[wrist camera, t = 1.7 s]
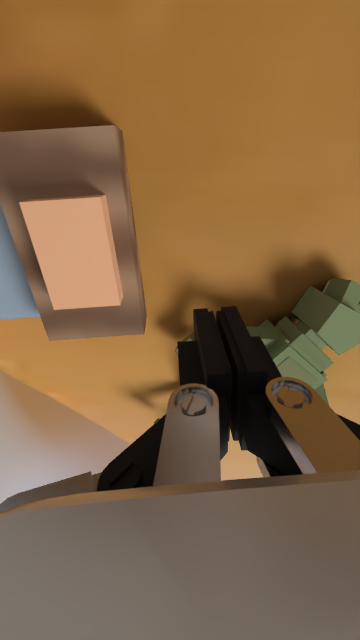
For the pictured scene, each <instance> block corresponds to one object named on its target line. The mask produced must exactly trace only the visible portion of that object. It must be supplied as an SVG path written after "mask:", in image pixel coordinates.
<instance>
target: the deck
mask: <svg viewBox="0 0 360 640" xmlns="http://www.w3.org/2000/svg"><path fill="white" fill-rule="evenodd" d="M91 195H106V200H107V206H108V212H109V218H110V223H111V229H112V235H113V240H114V246H115V252H116V258H117V263H118V269H119V275H120V280H121V286H122V292H123V298H122V301H121V305H118V306H104V307H89V308H75V309H60V310H54V309H53V305H52V302H51V299H50V296H49V293H48V290H47V287H46V284H45V281H44V278H43V275H42V272H41V269H40V265H39V262H38V259H37V256H36V253H35V250H34V247H33V244H32V241H31V238H30V235H29V232H28V228H27V225H26V222H25V219H24V216H23V213H22V210H21V207H20V204H19V202H22V201H26V200H30V199H45V198H60V197H76V196H91ZM0 204H1V207H2V210H3V212H4V215H5V218H6V221H7V224H8V226H9V229H10V232H11V235H12V238H13V240H14V243H15V246H16V249H17V252H18V254H19V257H20V260H21V263H22V266H23V268H24V271H25V274H26V277H27V280H28V282H29V285H30V288H31V291H32V294H33V296H34V299H35V302H36V305H37V308H38V310H39V313H40V316H41V319H42V322H43V324H44V327H45V330H46V333H47V336H48V338H49V341H52V340H66V339H80V338H94V337H109V336H123V335H137V334H144V332H145V325H146V317H147V314H146V307H145V299H144V292H143V284H142V277H141V269H140V262H139V254H138V247H137V239H136V232H135V224H134V217H133V209H132V202H131V194H130V187H129V179H128V172H127V164H126V157H125V149H124V142H123V134H122V131H121V130H120V129H119V128H117V127H116V126H115V125H107V126H91V127H74V128H58V129H42V130H26V131H10V132H0Z"/></svg>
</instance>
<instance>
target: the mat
mask: <svg viewBox="0 0 360 640" xmlns="http://www.w3.org/2000/svg"><path fill="white" fill-rule="evenodd" d="M30 317H41V316H40V313H39V310H38V308H37V305H36V302H35V299H34V296H33V294H32V291H31V288H30V285H29V282H28V280H27V277H26V274H25V271H24V268H23V266H22V263H21V260H20V257H19V254H18V252H17V249H16V246H15V243H14V240H13V238H12V235H11V232H10V229H9V226H8V224H7V221H6V218H5V215H4V212H3V210H2V207H1V204H0V320H1V319H15V318H30Z"/></svg>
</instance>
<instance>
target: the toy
mask: <svg viewBox="0 0 360 640" xmlns="http://www.w3.org/2000/svg"><path fill="white" fill-rule="evenodd" d="M291 312H292V313H293V314H294V315H295V316H296V317H297V318H298V319H299V320H300V321H299V322H298V323H297V324H296V325H294V324H293V323H292V322H291V321H290V320H289V319H288V318H287V317H286V316H285V317H284V318H283V319H281V320H280V321H279V322H278V323H277V325H276V326H274V325H273V324H272V323H271V322H270V321H269V320H268V319H266V320H265V321H264V322H263V323H261V324H260V325H259V326H258V327H257V326H255V327H253V326H246V328H247V330H248V332H249V334H250V336H259V337H260V338H261V339H262V341H263V343H264V345H265V347H266V348H267V350H268V352H269V354H270V356H271V357H272V359H273V361H274V363H275V365H276V366H277V368H278V370H279V372H280V374H281V375H282V377H292V378H296V379H299V380H302V381H304V382H305V383H307V384H309V385H310V386H311V387H312V388H313V389H314V390H315V391H316V392H317V393H318V394H319V395H320V396H321V398H322V399H323V400H324V401H325V402H326V403H327V404H328V400H327V397H326V392H325V389H324V385H323V383H324V382H326V381H327V379H326V378H325V376H326V374H325V373H324V372H323V370H325V369H326V368H328V367H329V366H330V365H331V364H333V362H332V361H331V360H330V359H329V358H328V357H327V356H326V355H325V354H324V353H323V352H322V351H321V349H323V348H324V347H325V346H326V345H328V346H329V347H330V348H331V349H333V350H334V351H335V352H336V353H337V354H338V355H340V354H341V353H344V352H346V351H347V350H349V349H351V348H353V347H355V346H356V345H358V344H360V285H359V284H357V283H355V282H353V281H352V280H343V279H332V278H331V279H330V280H328V282H327V284H326V286H325V288H324V290H323V292H321V291H319V290H318V289H316V288H314V287H312V286H309V288H308V289H307V290H306V292H305V293H304V294H303V296H302V297H301V299H300V300H299V301H298V303H297V304H296V306H295V307H294V309H293V310H292V311H291ZM183 341H194V333H193V332H192V333H191V334H190V335H189V336H188V337H186V338H185V339H184V340H183ZM175 351H176V352H177V353H178V346H177V348H176V350H175ZM328 405H329V404H328ZM159 420H160V419H159V418H158V419H157V420H156V421H155V422H154V424H155V423H156V422H158V421H159Z"/></svg>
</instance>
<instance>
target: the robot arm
mask: <svg viewBox="0 0 360 640" xmlns="http://www.w3.org/2000/svg"><path fill="white" fill-rule="evenodd" d="M178 358H179V373H180V387H179V388H177V389H175V390H174V392H173V393H172V394H171V396H170V398H169V402H168V408H167V413H166V415H164V416H163V417H162V418H161V419H160V420H159V421H158V422H156V423H155V424H154V425H153V426H152V427H151V428H149V429H148V430H147V431H146V432H145V433H144V434H143V435H141V436H140V437H139V438H138V439H137V440H136V441H135V442H133V443H132V444H131V445H130V446H129V447H128V448H127V449H125V450H124V451H123V452H122V453H121V454H120V455H118V456H117V457H116V458H115V459H114V460H113V461H112V462H110V463H109V465H108V466H107V467H106V468H105V469H104V470H103V472H101V473H98V474H94V475H92V474H91V472H87V473H84V474H81V475H78V476H74V477H71V478H67V479H64V480H61V481H58V482H54V483H51V484H47V485H44V486H41V487H38V488H34V489H31V490H28V491H25V492H21V493H18V494H16V495H14V496H12V497H9V498H7V499H6V500H5V501H4V502H3V503H1V504H0V640H360V425H359V424H357V423H355V422H353V421H350V420H348V419H346V418H344V417H342V416H340V415H338V414H336V413H335V412H334V411H333V410H332V409H331V408H330V407H329V405H328V404H327V403H326V402H325V401H324V400H323V399H322V398H321V396H320V395H319V394H318V393H317V392H316V391H315V390H314V389H313V388H312V387H311V386H310V385H309V384H307V383H305V382H304V381H302V380H299V379H296V378H292V377H282V375H281V374H280V372H279V370H278V368H277V366H276V365H275V363H274V361H273V359H272V357H271V356H270V354H269V352H268V350H267V348H266V347H265V345H264V343H263V341H262V339H261V338H260V337H259V336H250V334H249V332H248V330H247V328H246V326H245V324H244V322H243V320H242V318H241V316H240V314H239V312H238V310H237V308H236V306H233V307H222V308H221V311H217V312H216V320H215V317H214V314H213V311H211V312H208V309H207V308H204V309H194V341H181V342H178ZM230 429H231V433H232V437H233V440H234V441H237V440H239V443H240V447H241V450H248V451H250V452H251V453H253V454H254V455H256V456H257V463H258V466H259V468H260V471H261V473H262V475H263V478H250V479H237V480H225V481H221V471H220V460H221V459H222V458H223V457H224V456H225V454H226V453H227V452H228V441H229V434H230Z"/></svg>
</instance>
